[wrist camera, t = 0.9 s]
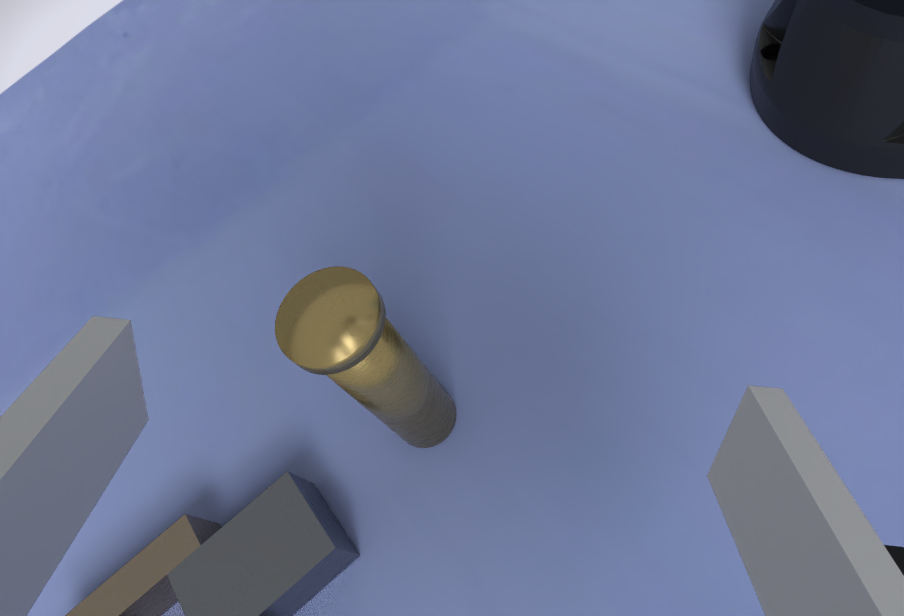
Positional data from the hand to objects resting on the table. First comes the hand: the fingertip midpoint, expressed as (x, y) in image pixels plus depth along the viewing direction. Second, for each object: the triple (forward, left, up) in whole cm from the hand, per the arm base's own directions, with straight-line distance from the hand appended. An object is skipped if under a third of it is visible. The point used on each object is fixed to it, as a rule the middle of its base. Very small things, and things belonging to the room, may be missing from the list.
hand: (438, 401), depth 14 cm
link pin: (+1, -9, -20) cm, 22 cm away
